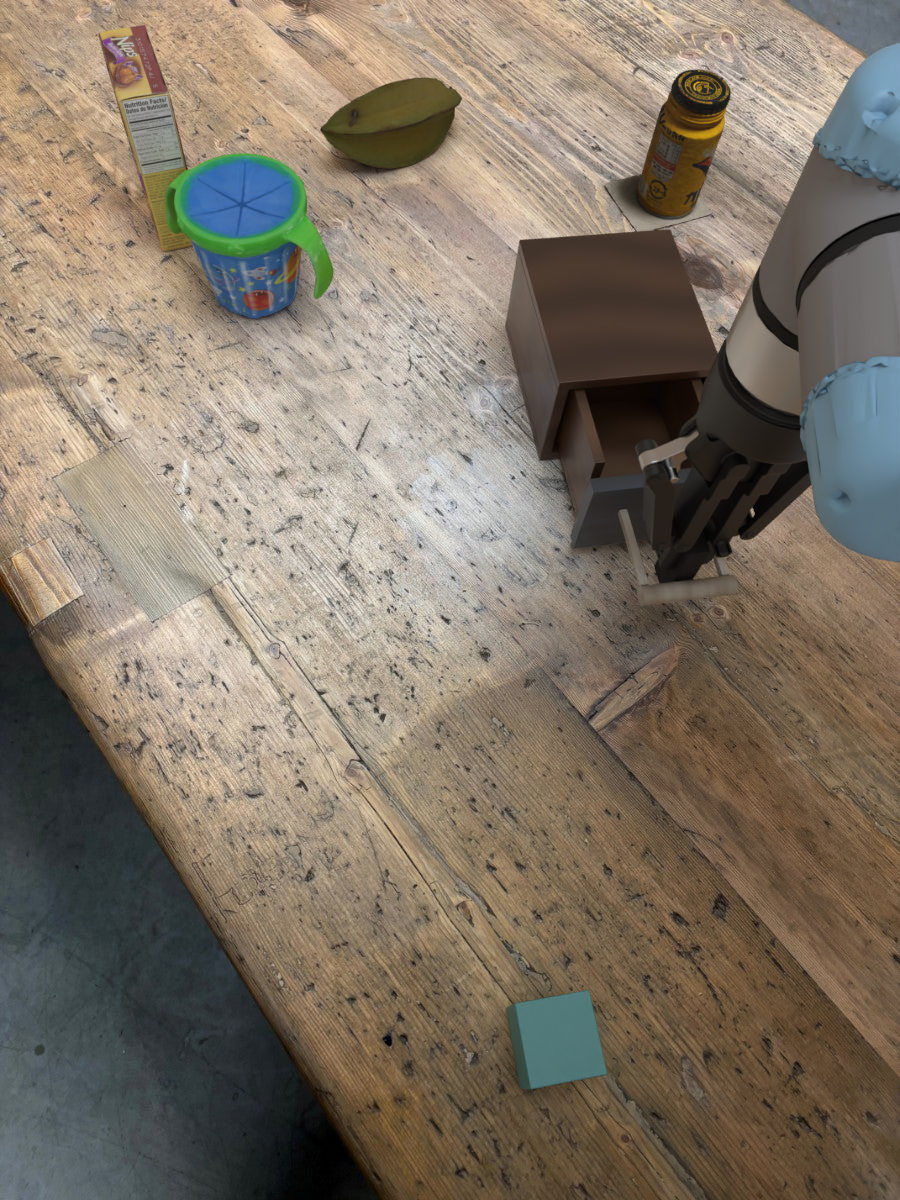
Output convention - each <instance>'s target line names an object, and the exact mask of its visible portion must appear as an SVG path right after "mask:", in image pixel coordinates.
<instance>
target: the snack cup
mask: <svg viewBox="0 0 900 1200" xmlns="http://www.w3.org/2000/svg"><path fill="white" fill-rule="evenodd" d="M307 213H308V197H307V191H306V187H305V183H304V180H303V179H302V178H301V177H300V176H299V175H298V173H296V172H295V171H294V169H293V168H292V167H290V166H288V165H287V164H286V163H284V162H282V161H280V160H278V159H275V158H273V157H269V156H267V155H264V154H263V155H262V154H257V153H248V152H247V153H246V152H243V153H242V152H237V153H227V154H222V155H219V156H215V157H212V158H210V159H206V160H204V161H202V162H200V163H198V164H197V165H196V166H194V167H192V168H189V169H188V170H185V171H184V172H183V173H182V174H180V175H179V176H178V177H177V178H175V179H174V180H173V181H172V182H171V184H170V185H169V186H168V187H167V189H166V192H165V214H166V220H167V225H168V227H169V229H170V230H171V231H172V232H173V233H175V234H178V233H180V232H183V233H184V234H185V235H186V236H187V237H189V238H190V240H191V242H192V246H191V247H192V248H193V250H194V252H195V254H196V258H197V260H198V261H199V263H200V266H201V268H202V270H203V272H204V275H205V277H206V280H207V283H208V284H209V286H210V288H211V290H212V292H213V296H214V297H215V299H216V301H217V303H219V304H218V305H220V306H222V307H223V308H225V309H226V310H228V312H231V313H233V314H236V315H238V316H239V315H240V316H245V317H247V318H249V319H255V320H257V319H260V318H261V317H267V316H270V315H273V314H275V313H278V312H279V311H282V310H284V309H285V308H286V307H288V306H289V307H290V306H291V305H292V303H293V301H294V300H295V297H296V294H297V292H298V289H299V283H300V274H301V273H300V272H301V259H302V251H303V252H305V253H306V254H307V256H308V259H309V262H310V263H311V266H312V269H313V271H314V275H315V282H314V288H313V298H314V299H315V300H318V299H320V298H321V297H323V295H324V294H325V292H326V291H327V290H328V289H329V287H330V286H331V284H332V281H333V278H334V272H335V271H334V267H333V263H332V260H331V258H330V254H329V252H328V249H327V247H326V244H325V243H324V240H323V237H322V236H321V234H320V232H319V231H318V229H317V228H316V226H315V224H314V223H313V221H311V219H310V218H309V216H308V215H307Z"/></svg>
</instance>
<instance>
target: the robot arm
mask: <svg viewBox="0 0 900 1200" xmlns="http://www.w3.org/2000/svg"><path fill="white" fill-rule="evenodd" d="M811 143H812V145H813V147H812V149H811V150H810V153H809V155H808V158H807V160H806V162H805V165H804V166H803V169H802V171H801V173H800V175H799V178H798V179H797V182H796V184H795V186H794V189H793V191H792V193H791V195H790V197H789V199H788V202H787V203H786V206H785V209H784V211H783V213H782V215H781V217H780V219H779V222H778V224H777V226H776V228H775V230H774V232H773V235H772V236H771V238H770V241H769V244H768V245H767V248H766V250H765V253H764V254H763V257H762V259H761V261H760V264H759V266H758V268H757V270H756V271H755V274H754V276H753V278H752V280H751V283H750V285H749V287H748V288H747V291H746V293H745V295H744V297H743V299H742V302H741V304H740V307H739V308H738V311H737V312H736V315H735V317H734V319H733V321H732V324H731V326H730V328H729V330H728V333H727V336H726V338H725V339H724V340H723V342H722V343H721V346H720V348H719V350H718V351H717V353H718V354H717V356H716V358H715V361H714V363H713V365H712V367H711V369H710V371H709V373H708V376H707V378H706V380H705V382H704V385H703V388H702V392H701V397H700V402H699V407H698V411H697V413H696V414H695V415H694V416H693V417H692V418H691V419H690V420H688V421H687V422H686V423H685V424H684V425H683V426H682V428H681V430H680V434H679V437H680V438H677V439H675V440H673V441H671V442H668V443H666V444H664V445H662V446H658V445H657V444H656V442H655V441H654V440H652V439H645V440H642V441H640V442H639V443H638V444H637V445H636V446H635V449H636V452H637V456H638V459H639V462H640V465H641V468H642V472H643V475H644V494H643V521H644V524H645V527H646V531H647V534H648V537H649V540H648V541H649V543H650V546H651V550H652V551H654V552H655V555H656V558H657V559H656V562H655V563H654V566H653V568H654V572H655V575H656V578H657V581H658V584H660V583H668V582H676V581H684V580H692V579H695V577H696V575H697V574H698V572H699V571H700V569H701V567H702V566H703V565H707V564H709V563H711V561H712V560H713V557H714V556H716V557H717V558H722V557H724V558H726V557H729V556H731V555H732V553H733V549H732V546H731V543H730V542H731V541H732V539H733V538H735V537H738V536H739V539H740V540H742V541H749V540H752V539H754V538H756V537H757V536H758V535H759V534H760V533H761V532H762V531H763V530H765V529H766V528H767V527H768V526H769V525H770V524H771V523H772V522H773V521H774V520H776V519H777V517H778V516H780V515H781V514H782V513H783V512H784V511H785V510H786V509H787V508H788V507H789V506H791V505H792V504H793V503H794V502H795V501H796V500H797V499H798V498H799V497H800V496H801V495H803V493H805V491H807V490H808V489H809V488H810V487H811V492H812V499H813V506H814V510H815V513H816V515H817V518H818V520H819V522H820V524H821V525H822V527H823V529H824V530H825V531H826V533H828V534H829V535H830V536H831V537H832V539H834V540H835V541H836V542H837V543H839V544H841V545H842V546H843V547H845V548H846V549H848V550H850V551H852V552H855V553H856V554H859V555H861V556H865V557H869V558H872V559H875V560H881V561H887V562H893V563H900V42H898V43H894V44H891V45H888V46H885V47H883V48H881V49H878V50H876V51H875V52H874V53H872V54H870V55H869V56H868V57H866V58H865V59H864V60H863V61H862V62H861V63H860V64H859V65H858V66H857V67H856V68H855V69H854V70H853V72H852V73H851V75H850V76H849V78H848V80H847V81H846V84H845V85H844V87H843V88H842V91H841V92H840V94H839V96H838V98H837V100H836V102H835V103H834V105H833V107H832V109H831V111H830V113H829V115H828V116H827V117H826V120H825V122H824V124H823V126H821V127H820V128H819V129H818V130H817V132H816V133H815V134H814V136H813V138H812V141H811ZM686 459H689V461H690V462H691V463H692V465H693V467H692V469H691V471H690V473H689V475H688V477H687V478H686V480H685V482H684V484H683V486H682V488H681V490H680V492H679V494H678V496H677V498H676V500H675V502H674V499H675V489H674V486H673V483H676V482H677V481H678V480H679V476H678V473H677V472H679V471H680V469H681V463H682V462H683V461H684V460H686ZM751 510H753V513H754V514H752V511H751Z"/></svg>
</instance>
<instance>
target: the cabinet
mask: <svg viewBox="0 0 900 1200" xmlns="http://www.w3.org/2000/svg"><path fill="white" fill-rule="evenodd" d="M517 247H518V248H517V252H516V259H515V264H514V269H513V270H514V271H513V277H512V283H511V289H510V295H509V302H508V307H507V312H506V313H507V314H506V319H505V332H506V335H507V339H508V343H509V348H510V351H511V354H512V358H513V362H514V363H513V364H514V366H515V370H516V374H517V378H518V383H519V386H520V390H521V393H522V397H523V401H524V405H525V409H526V413H527V418H528V422H529V426H530V428H531V434H532V436H533V441H534V445H535V448H536V453H537V457H538V460H539V461H542V462H543V461H551V460H561V457H560V453H559V450H558V446H557V442H556V434H557V431H558V427H559V423H560V420H561V416H562V412H563V409H564V405H565V401H566V398H567V394H568V390H570V389H580V388H591V387H602V386H612V385H623V384H634V383H645V382H655V381H666V380H677V379H688V378H698V377H700V379H701V381H702V384H703V385H704V382H705V380H706V378H707V376H708V373H709V371H710V369H711V367H712V365H713V363H714V361H715V358H716V356H717V354H718V350H717V347H716V345H715V343H714V339H713V337H712V334H711V332H710V329H709V327H708V323H707V321H706V319H705V315H704V313H703V311H702V308H701V306H700V303H699V300H698V298H697V295H696V293H695V290H694V287H693V284H692V282H691V279H690V276H689V273H688V271H687V269H686V266H685V263H684V261H683V258H682V256H681V254H680V253H681V252H680V251H679V248H678V245H677V242H676V239H675V238H674V235H673V232H672V230H671V229H670V228H667V229H654V230H652V231H627V232H625V231H624V232H611V233H610V232H609V233H596V234H582V235H581V234H580V235H570V236H569V235H568V236H556V237H555V236H553V237H540V238H526V239H525V238H524V239H519V240H518V245H517Z"/></svg>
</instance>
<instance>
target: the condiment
mask: <svg viewBox="0 0 900 1200" xmlns="http://www.w3.org/2000/svg"><path fill="white" fill-rule="evenodd" d="M731 95H732V94H731V87H730V85H729V84H728V83H727V81H726V80H725V79H724V77H722V76H720V75H718V74H717V73H715V72H712V71H709V70H705V69H699V68H697V69H688V70H684V71H682V72H680V73H678V75H677V76H676V77H675V79H674V80H673V82H672V83H671V88H670V92H669V94H668V95H667V99H666V101H664V103H663V104H661V107H660V109H659V112H658V116H657V119H656V123H655V126H654V129H653V133H652V137H651V140H650V143H649V146H648V150H647V154H646V156H645V160H644V164H643V167H642V170H641V174H635V175H632V176H630V177H624V178H621V179H616V180H615V179H614V180H611V181H608V182H603V185H604V186H605V188H606V189H607V192H608V193H609V194H610V196H611V198H612V199H613V200H614V202H615V204H616V205H617V207H618V208H619V209H620V211H621V212H622V215H623V216H625V217H626V218H627V220H628V222H629V223H630V225H631V227H633V229H635V232H637V231H652V230H658V229H661V228H665V227H669V226H672V225H678V224H681V223H685V222H689V221H692V220H697V219H699V218H703V217H706V216H709V215H711V214H713V213H714V212H713V210H711V209H710V207H709V206H708V205H707V204H706V203H705V201H704V200H703V199H702V198H701V196H700V195H701V192H702V190H703V186H704V184H705V181H706V179H707V176H708V173H709V170H710V168H711V165H712V161H713V160H714V156H715V153H716V151H717V148H718V145H719V142H720V140H721V138H722V136H723V132H724V129H725V125H726V119H725V118H726V117H725V116H726V113H727V107H728V105H729V103H730V100H731Z"/></svg>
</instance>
